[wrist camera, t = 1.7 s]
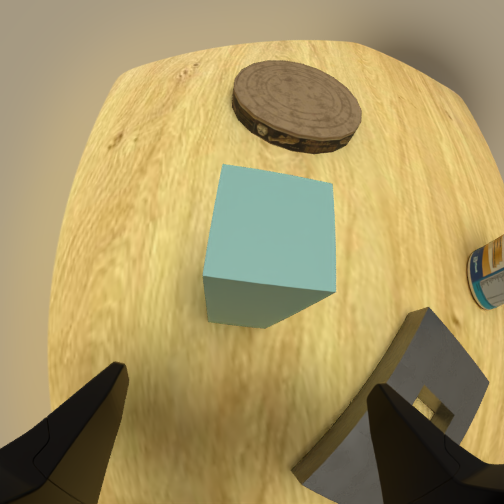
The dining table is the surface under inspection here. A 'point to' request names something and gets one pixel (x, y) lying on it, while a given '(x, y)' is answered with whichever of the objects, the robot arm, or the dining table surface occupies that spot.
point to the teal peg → (268, 247)
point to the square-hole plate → (409, 387)
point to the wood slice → (295, 106)
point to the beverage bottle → (488, 274)
